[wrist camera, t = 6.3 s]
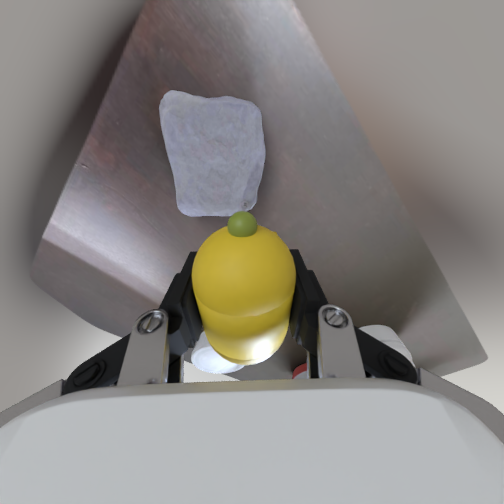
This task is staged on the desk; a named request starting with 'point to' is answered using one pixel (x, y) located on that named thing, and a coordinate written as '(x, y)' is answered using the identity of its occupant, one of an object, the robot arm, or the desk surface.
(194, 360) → the ramekin
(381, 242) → the desk surface
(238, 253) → the lemon
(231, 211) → the stone block
